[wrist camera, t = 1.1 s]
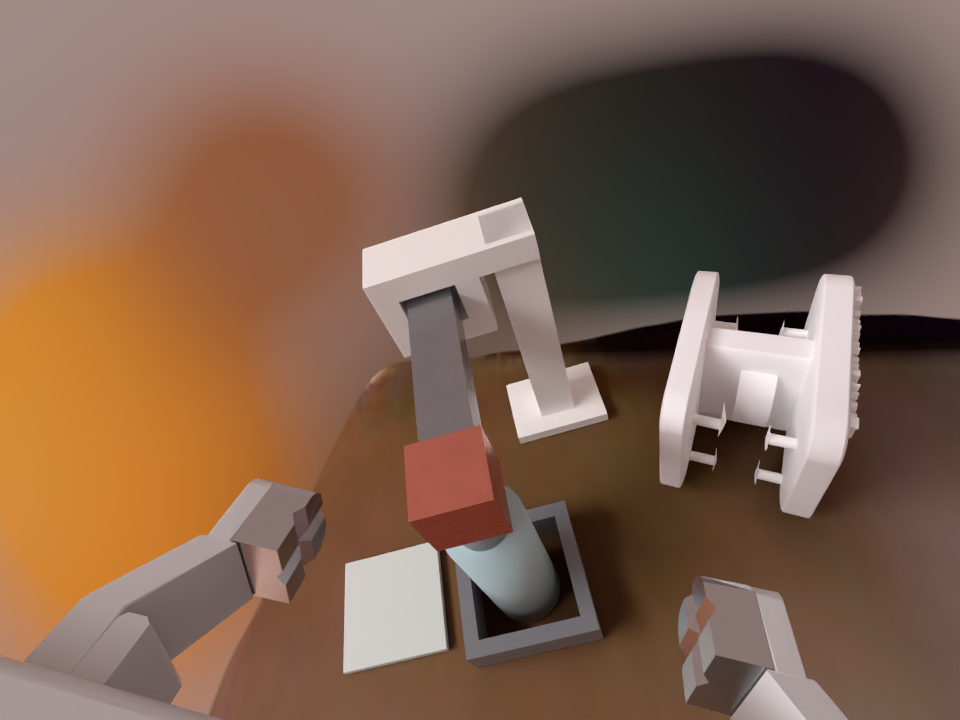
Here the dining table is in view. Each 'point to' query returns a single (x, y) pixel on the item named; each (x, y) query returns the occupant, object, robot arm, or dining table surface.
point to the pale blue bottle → (513, 568)
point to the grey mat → (394, 608)
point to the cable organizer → (767, 388)
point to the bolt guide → (489, 307)
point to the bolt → (449, 434)
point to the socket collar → (539, 637)
